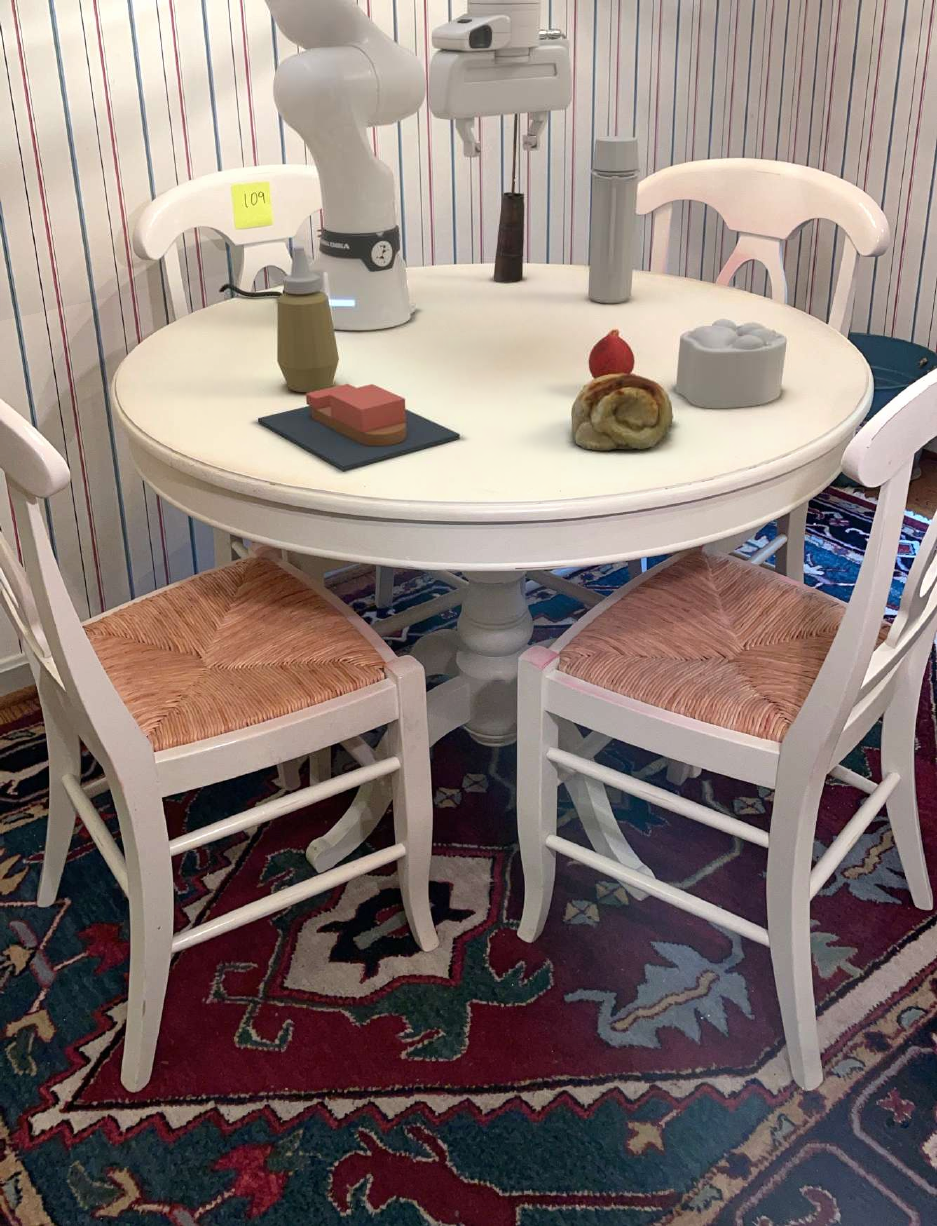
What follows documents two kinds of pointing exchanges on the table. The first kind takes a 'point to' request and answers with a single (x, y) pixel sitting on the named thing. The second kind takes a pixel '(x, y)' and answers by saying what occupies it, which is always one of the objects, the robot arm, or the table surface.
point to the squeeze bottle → (305, 330)
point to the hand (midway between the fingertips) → (502, 153)
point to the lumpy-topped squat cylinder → (730, 365)
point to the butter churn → (510, 231)
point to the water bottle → (613, 218)
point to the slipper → (361, 413)
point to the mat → (347, 450)
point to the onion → (611, 356)
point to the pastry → (621, 413)
